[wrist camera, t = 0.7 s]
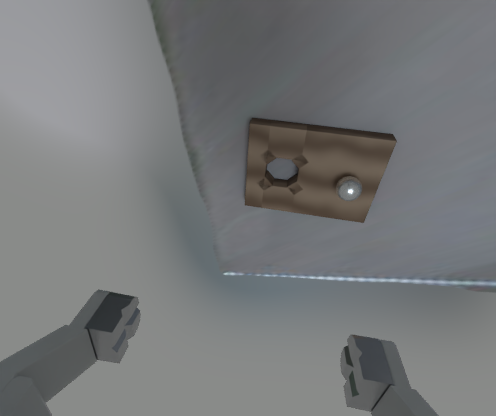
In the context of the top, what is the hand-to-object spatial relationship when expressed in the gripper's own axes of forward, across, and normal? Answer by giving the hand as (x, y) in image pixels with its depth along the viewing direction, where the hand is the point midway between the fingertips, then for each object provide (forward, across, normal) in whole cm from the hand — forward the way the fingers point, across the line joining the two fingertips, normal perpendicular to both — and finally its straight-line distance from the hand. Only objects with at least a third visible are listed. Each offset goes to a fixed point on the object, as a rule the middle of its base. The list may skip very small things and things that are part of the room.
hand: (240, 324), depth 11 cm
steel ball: (+36, -13, +10) cm, 39 cm away
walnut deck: (+40, -8, +10) cm, 42 cm away
